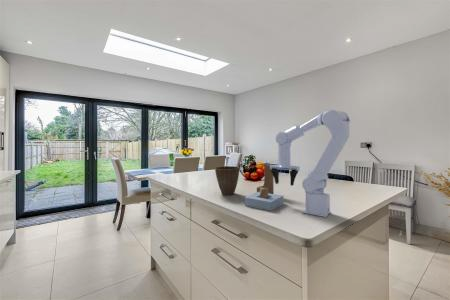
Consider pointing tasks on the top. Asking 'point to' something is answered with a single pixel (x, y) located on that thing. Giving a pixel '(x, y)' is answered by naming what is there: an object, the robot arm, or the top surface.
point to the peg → (264, 193)
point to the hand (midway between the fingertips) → (284, 184)
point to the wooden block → (267, 179)
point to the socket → (264, 201)
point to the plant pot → (227, 179)
